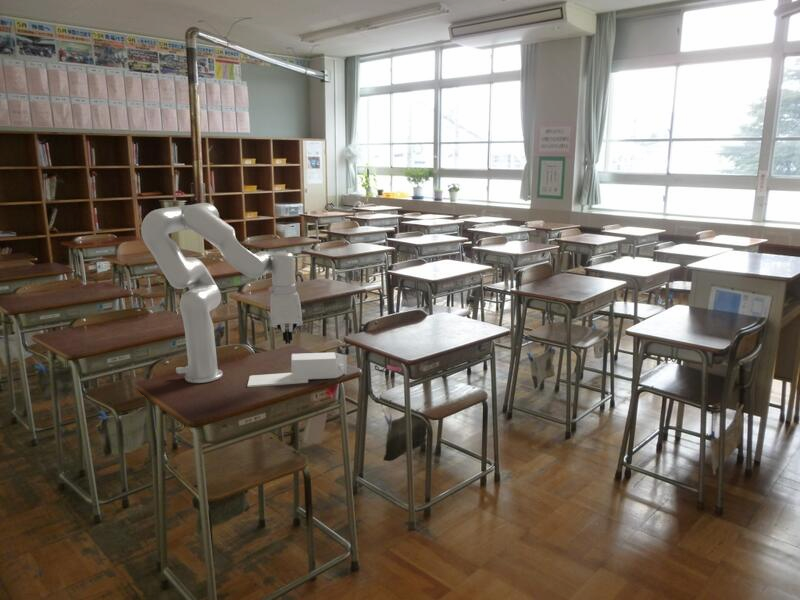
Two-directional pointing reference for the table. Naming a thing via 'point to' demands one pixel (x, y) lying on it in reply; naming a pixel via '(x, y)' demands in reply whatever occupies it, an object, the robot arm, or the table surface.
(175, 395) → the table surface
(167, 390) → the table surface
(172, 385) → the table surface
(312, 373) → the milk carton
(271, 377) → the mat
